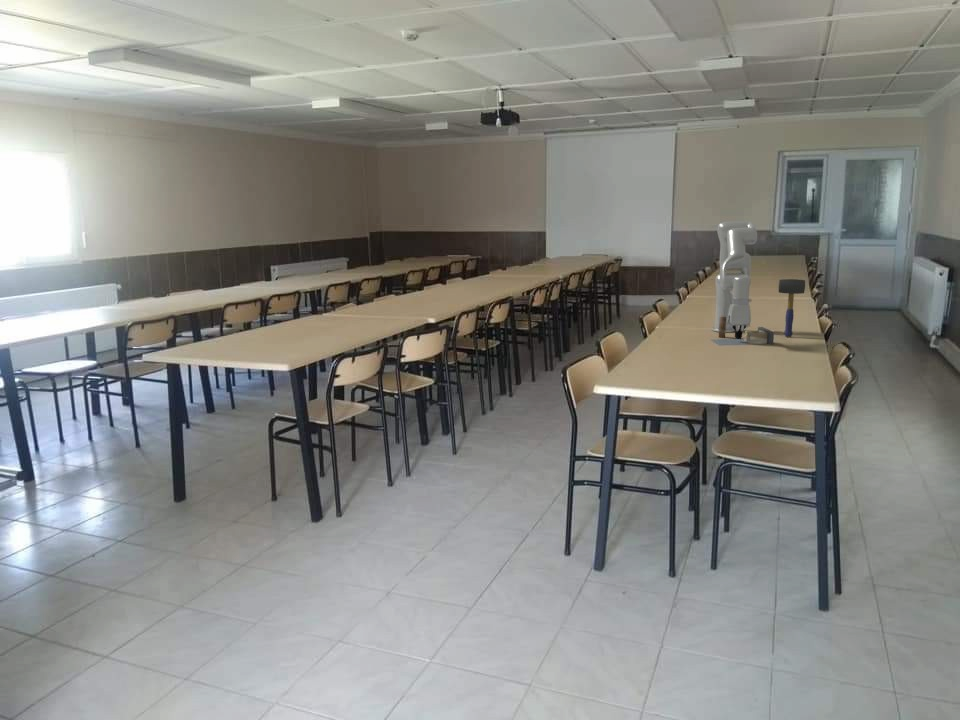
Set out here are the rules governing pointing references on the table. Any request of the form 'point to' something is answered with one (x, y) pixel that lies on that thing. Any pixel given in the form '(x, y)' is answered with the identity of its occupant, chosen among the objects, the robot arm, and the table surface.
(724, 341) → the jig board
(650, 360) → the table surface
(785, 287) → the rubber mallet
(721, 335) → the dowel
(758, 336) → the socket block
